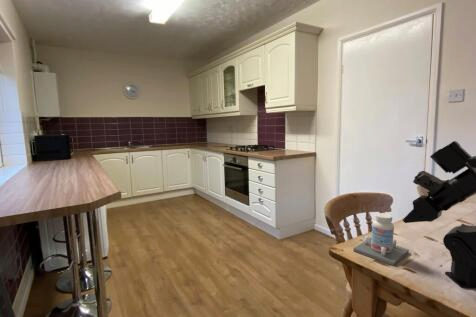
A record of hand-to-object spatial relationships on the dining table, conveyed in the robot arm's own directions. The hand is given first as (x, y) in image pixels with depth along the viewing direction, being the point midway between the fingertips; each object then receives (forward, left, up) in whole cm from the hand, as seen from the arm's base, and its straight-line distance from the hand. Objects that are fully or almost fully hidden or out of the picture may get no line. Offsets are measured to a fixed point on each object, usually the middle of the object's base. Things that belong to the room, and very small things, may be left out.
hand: (409, 217), depth 79 cm
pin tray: (+5, +5, -13) cm, 15 cm away
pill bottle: (+5, +5, -13) cm, 15 cm away
